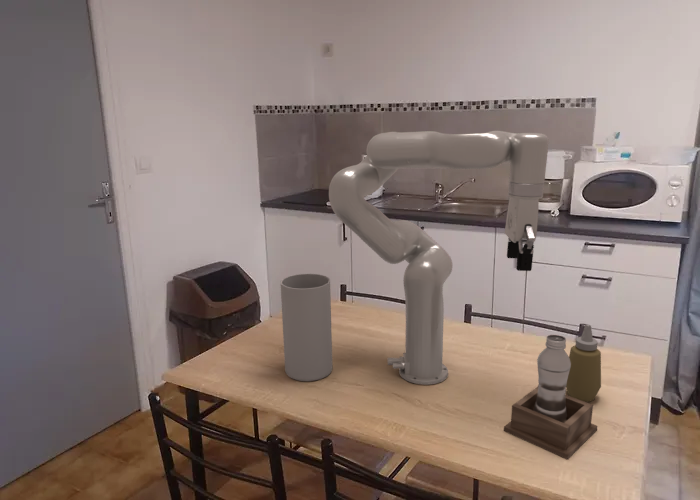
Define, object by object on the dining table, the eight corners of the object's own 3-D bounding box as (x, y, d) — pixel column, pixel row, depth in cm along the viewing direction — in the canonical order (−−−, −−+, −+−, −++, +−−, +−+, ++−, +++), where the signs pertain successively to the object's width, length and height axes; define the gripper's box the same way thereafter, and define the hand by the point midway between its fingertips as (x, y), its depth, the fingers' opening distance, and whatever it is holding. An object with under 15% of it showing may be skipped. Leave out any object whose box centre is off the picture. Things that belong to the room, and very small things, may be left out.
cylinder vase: (342, 369, 145) (340, 280, 139) (307, 387, 136) (303, 292, 130) (310, 356, 154) (306, 270, 147) (275, 372, 145) (270, 282, 138)
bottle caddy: (567, 459, 107) (570, 432, 106) (503, 430, 117) (505, 405, 116) (597, 429, 117) (599, 404, 115) (535, 405, 127) (537, 382, 125)
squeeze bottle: (596, 408, 125) (604, 335, 120) (559, 399, 129) (566, 328, 125) (602, 393, 132) (610, 323, 127) (566, 384, 136) (573, 316, 131)
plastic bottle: (568, 434, 114) (577, 345, 109) (534, 431, 115) (541, 343, 110) (562, 417, 120) (570, 332, 115) (530, 414, 121) (537, 330, 116)
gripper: (500, 183, 130) (494, 253, 135) (517, 196, 113) (510, 275, 118) (532, 184, 130) (525, 254, 134) (554, 197, 113) (545, 276, 118)
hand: (518, 263), depth 126 cm, fingers open, 9 cm apart
